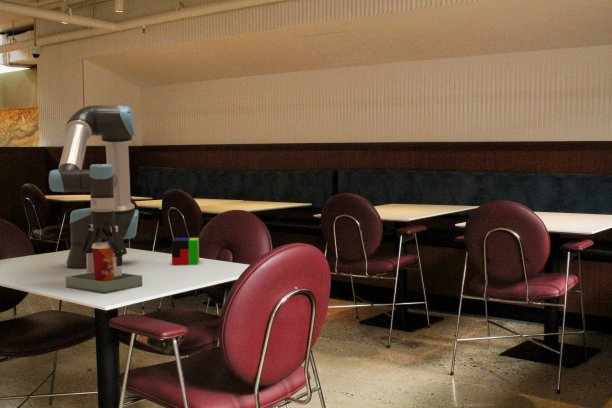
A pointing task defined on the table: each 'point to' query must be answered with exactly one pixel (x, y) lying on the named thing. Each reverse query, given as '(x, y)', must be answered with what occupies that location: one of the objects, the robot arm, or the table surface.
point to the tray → (90, 284)
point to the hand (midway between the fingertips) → (104, 274)
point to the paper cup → (103, 261)
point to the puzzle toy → (185, 251)
